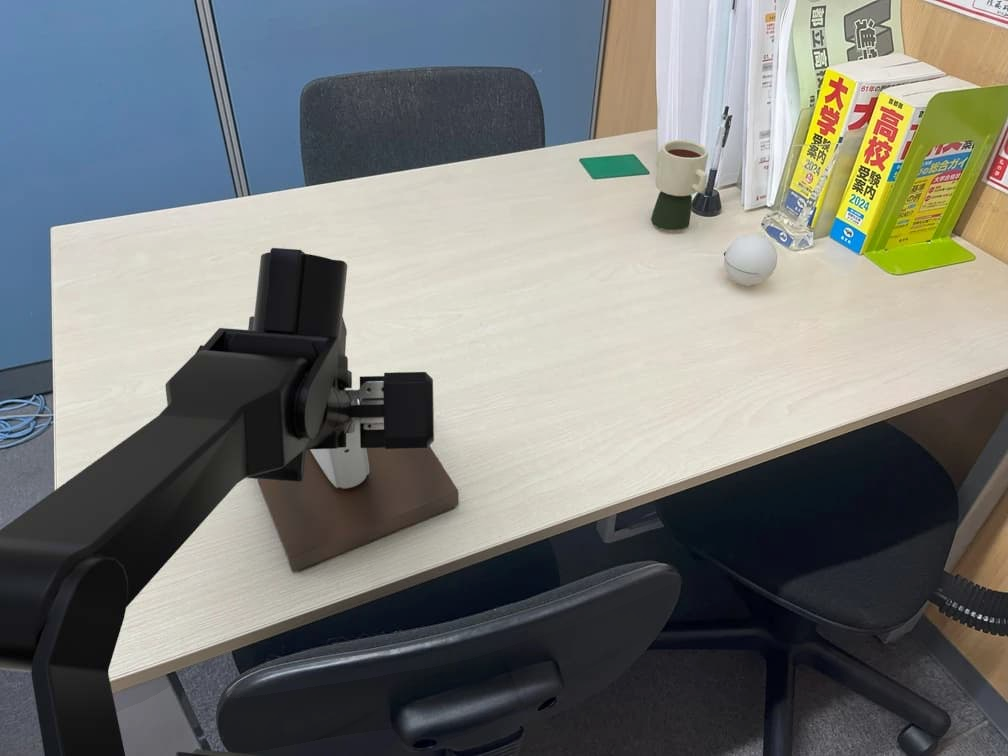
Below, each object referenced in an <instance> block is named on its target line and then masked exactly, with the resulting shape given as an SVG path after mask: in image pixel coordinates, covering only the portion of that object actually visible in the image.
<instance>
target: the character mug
mask: <svg viewBox="0 0 1008 756" xmlns="http://www.w3.org/2000/svg"><path fill="white" fill-rule="evenodd" d="M708 157H709V151H708V148H707V147H706V146H704V145H703V144H701V143H699V142H695V141H690V140H681V139H680V140H678V139H676V140H669V141H667V142H664V143H663V145H662V146H661V147H660V148H659V149H658V151H657V155H656V161H655V167H656V168H657V169H656V176H655V186H656V188H657V189H658V190H659V194H658V195H657V198H656V202H655V205H654V207H653V211H652V214H651V217H650V220H651V223H652V225H654V226H655V227H656V228H658V229H662V230H666V231H679V230H685V229H688V228H689V226H690V223H691V217H692V215H691V214H692V205H693V204H692V202H693V195H694V194H696V193H699V194H703V193H704V192H705V189H706V185H707V180H708V173H707V172H706V170H707V169H706V168H707V161H708Z"/></svg>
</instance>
